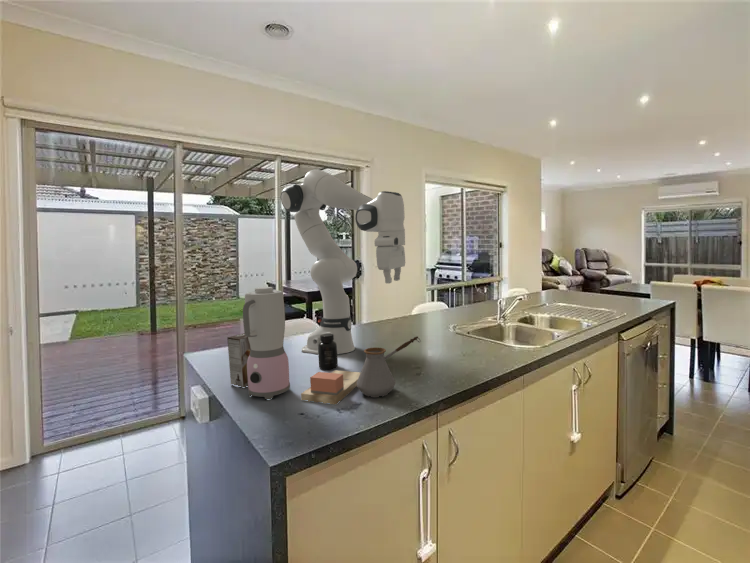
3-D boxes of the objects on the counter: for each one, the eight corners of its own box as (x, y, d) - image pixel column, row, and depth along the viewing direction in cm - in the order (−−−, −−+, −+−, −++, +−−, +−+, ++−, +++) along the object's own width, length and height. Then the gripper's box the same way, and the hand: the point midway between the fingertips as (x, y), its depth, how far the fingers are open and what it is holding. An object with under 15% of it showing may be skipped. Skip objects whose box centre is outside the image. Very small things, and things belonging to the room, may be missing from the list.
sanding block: (310, 392, 114) (310, 377, 113) (319, 386, 118) (318, 371, 118) (336, 395, 111) (335, 379, 110) (343, 389, 116) (343, 374, 115)
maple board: (301, 400, 113) (300, 393, 113) (334, 375, 134) (334, 370, 134) (336, 404, 109) (335, 397, 109) (365, 378, 130) (365, 372, 130)
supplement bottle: (340, 365, 146) (339, 333, 144) (333, 371, 139) (331, 337, 138) (324, 364, 148) (322, 332, 147) (315, 369, 141) (314, 336, 140)
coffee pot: (367, 403, 110) (365, 350, 109) (350, 390, 120) (348, 341, 119) (430, 388, 120) (429, 339, 118) (410, 377, 130) (409, 332, 129)
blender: (265, 384, 128) (260, 285, 125) (298, 387, 124) (293, 285, 121) (231, 402, 113) (224, 291, 110) (267, 407, 109) (260, 291, 106)
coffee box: (252, 377, 135) (249, 331, 133) (265, 380, 131) (263, 332, 130) (229, 386, 127) (226, 336, 125) (243, 389, 124) (240, 339, 122)
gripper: (392, 240, 143) (393, 279, 144) (372, 240, 123) (373, 284, 125) (409, 240, 140) (409, 279, 142) (391, 240, 121) (392, 285, 122)
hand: (392, 281), depth 133 cm, fingers open, 8 cm apart
